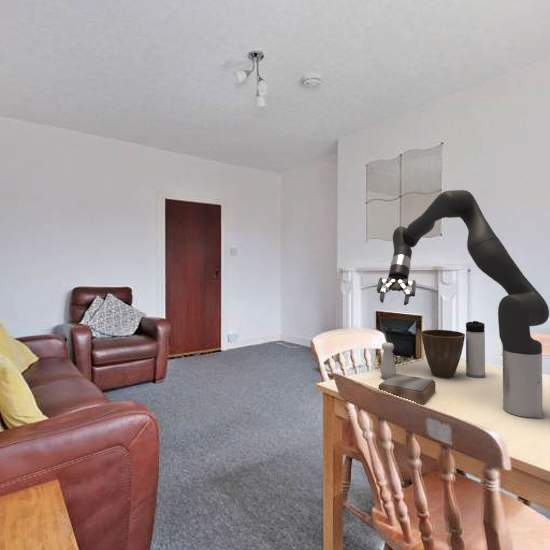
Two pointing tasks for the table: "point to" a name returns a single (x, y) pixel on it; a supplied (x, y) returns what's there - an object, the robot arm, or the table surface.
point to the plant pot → (443, 351)
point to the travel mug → (475, 349)
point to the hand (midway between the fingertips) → (393, 303)
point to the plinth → (409, 387)
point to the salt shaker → (387, 361)
